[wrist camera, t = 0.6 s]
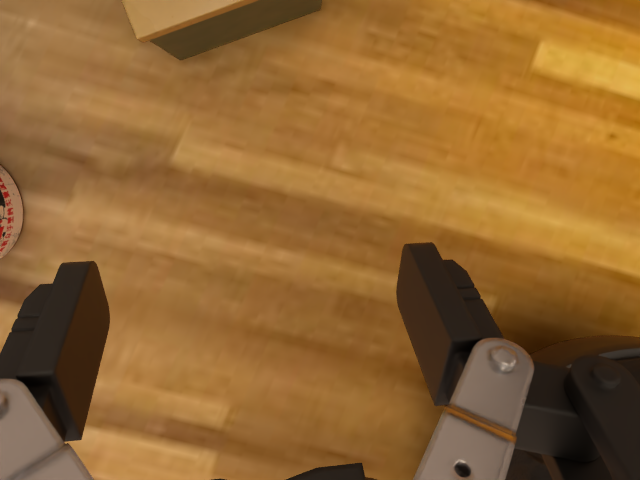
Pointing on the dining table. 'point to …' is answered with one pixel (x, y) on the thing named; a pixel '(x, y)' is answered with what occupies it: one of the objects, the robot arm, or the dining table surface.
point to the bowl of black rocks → (631, 352)
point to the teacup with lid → (9, 212)
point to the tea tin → (208, 21)
